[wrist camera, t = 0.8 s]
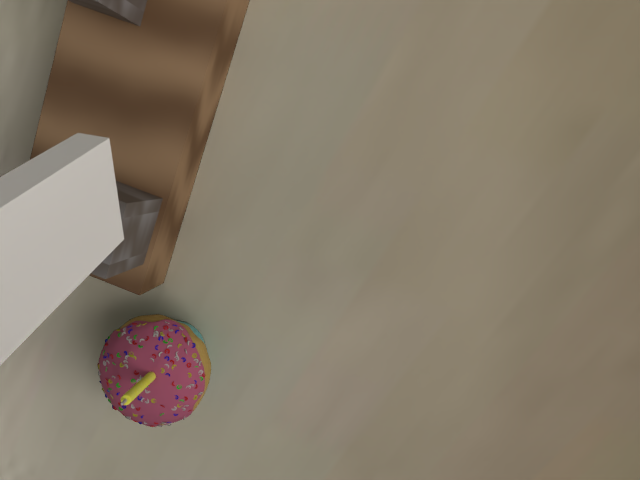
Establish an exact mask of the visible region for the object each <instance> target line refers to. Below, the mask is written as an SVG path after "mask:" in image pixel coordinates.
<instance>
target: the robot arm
mask: <svg viewBox="0 0 640 480" xmlns="http://www.w3.org/2000/svg"><path fill="white" fill-rule="evenodd" d="M123 240H124V234H123V227H122V221H121V214H120V207H119V200H118V193H117V187H116V180H115V173H114V166H113V159H112V153H111V146H110V139H109V138H107V137H100V136H94V135H88V134H82V133H77V134H75V135H73V136H71V137H70V138H68V139H66V140H64V141H63V142H61V143H59V144H57V145H56V146H54V147H52V148H50V149H48V150H47V151H45V152H43V153H41V154H40V155H38V156H36V157H34V158H33V159H31V160H29V161H27V162H26V163H24V164H22V165H20V166H19V167H17V168H15V169H13V170H12V171H10V172H8V173H6V174H4V175H3V176H1V177H0V365H1V364H2V363H3V362H4V361H5V360H6V359H7V358H8V357H9V356H10V355H11V354H12V353H13V352H14V351H15V350H16V349H17V348H18V347H19V346H20V345H21V344H22V343H23V342H24V341H25V340H26V339H27V338H28V337H29V336H30V335H31V334H32V332H33V331H34V330H35V329H36V328H37V327H38V326H39V325H40V324H41V323H42V322H43V321H44V320H45V319H46V318H47V317H48V316H49V315H50V314H51V313H52V312H53V311H54V310H55V309H56V308H57V307H58V306H59V305H60V304H61V303H62V302H63V301H64V300H65V299H66V298H67V297H68V296H69V295H70V294H71V293H72V292H73V291H74V290H75V289H76V288H77V287H78V286H79V285H80V284H81V283H82V282H83V281H84V280H85V279H86V278H87V277H88V276H89V274H90V273H91V272H92V271H93V270H94V269H95V268H96V267H97V266H98V265H99V264H100V263H101V262H102V261H103V260H104V259H105V258H106V257H107V256H108V255H109V254H110V253H111V252H112V251H113V250H114V249H115V248H116V247H117V246H118V245H119V244H120V243H121V242H122V241H123Z"/></svg>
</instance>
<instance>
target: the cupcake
mask: <svg viewBox="0 0 640 480" xmlns="http://www.w3.org/2000/svg"><path fill="white" fill-rule="evenodd" d="M106 340H107V341H106ZM106 340H105V345H104V348H103V350H102V352H101V355H100V358H99V363H98V369H99V372H98V375H99V376H100V380H101V381H99V382H100V383H101V384H102V387H103V388H102V390H103V391H104V393H105V397H106V398H107V397H108V401H109V402H110V403H111V404H112V408H113V409H115V408H116V409H115V410H118V411H120V412H121V413H122V414H123V415H124V416H125V417H126V418H127V419H129V420H133V421H135V422H138V423H139V424H144V425H147V426H150V427H155V426H160V427H162V426H161V425H171V423H173V422H176V421H179V420H182V419H183V420H184V418H186V417H188V416H189V415H190V414H191V413H192V411H194V410H195V408H196V407H197V405H198V404H199V402H200V401H201V399H202V397H203V396H204V393H205V391H206V389H207V386H208V383H209V379H210V373H211V362H210V359H209V356H208V353H207V350H206V346H205V343H204V340H203V337H202V336H201V334H200V333H199V331H198V330H197V329H196V328H194V327H193V326H192V325H190V324H188V323H186V322H182V321H175V320H173V319H171V318H169V317H166V316H163V315H158V314H156V315H144V316H138V317H135V318H133V319H131V320H129V321H128V322H126V323H125V324H124V325H123V326H122V327H120V328H119V329H117V330H115V331H113V333H112V334H111V335H110V336H109V337H108V339H106Z"/></svg>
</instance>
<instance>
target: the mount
mask: <svg viewBox="0 0 640 480" xmlns="http://www.w3.org/2000/svg"><path fill="white" fill-rule="evenodd" d="M249 1H250V0H68V1H67V6H66V10H65V14H64V18H63V23H62V27H61V31H60V35H59V39H58V44H57V48H56V52H55V56H54V60H53V65H52V69H51V73H50V77H49V81H48V86H47V90H46V94H45V98H44V103H43V107H42V111H41V115H40V119H39V124H38V128H37V132H36V136H35V140H34V145H33V149H32V153H31V157H30V160H31V159H33V158H34V157H36V156H38V155H40V154H41V153H43V152H45V151H47V150H48V149H50V148H52V147H54V146H56V145H57V144H59V143H61V142H63V141H64V140H66V139H68V138H70V137H71V136H73V135H75V134H77V133H82V134H88V135H94V136H100V137H107V138H109V139H110V146H111V153H112V159H113V166H114V173H115V180H116V187H117V193H118V200H119V207H120V214H121V221H122V227H123V234H124V240H123V241H122V242H121V243H120V244H119V245H118V246H117V247H116V248H115V249H114V250H113V251H112V252H111V253H110V254H109V255H108V256H107V257H106V258H105V259H104V260H103V261H102V262H101V263H100V264H99V265H98V266H97V267H96V268H95V269H94V270H93V271H92V272H91V273H90V274H89V275H90V276H92V277H95V278H97V279H100V280H102V281H105V282H107V283H110V284H113V285H115V286H118V287H120V288H123V289H125V290H128V291H130V292H133V293H135V294H138V295H141V294H143V293H145V292H147V291H149V290H151V289H153V288H155V287H157V286H159V285H161V284H163V283H164V280H165V277H166V273H167V270H168V267H169V263H170V260H171V257H172V254H173V250H174V247H175V244H176V240H177V237H178V234H179V231H180V227H181V224H182V221H183V218H184V214H185V211H186V208H187V204H188V201H189V198H190V195H191V191H192V188H193V185H194V181H195V178H196V175H197V172H198V168H199V165H200V162H201V158H202V155H203V152H204V149H205V145H206V142H207V139H208V135H209V132H210V129H211V126H212V122H213V119H214V116H215V112H216V109H217V106H218V103H219V99H220V96H221V93H222V89H223V86H224V83H225V80H226V76H227V73H228V70H229V67H230V63H231V60H232V57H233V53H234V50H235V47H236V44H237V40H238V37H239V34H240V30H241V27H242V24H243V21H244V17H245V14H246V11H247V7H248V4H249Z"/></svg>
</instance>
